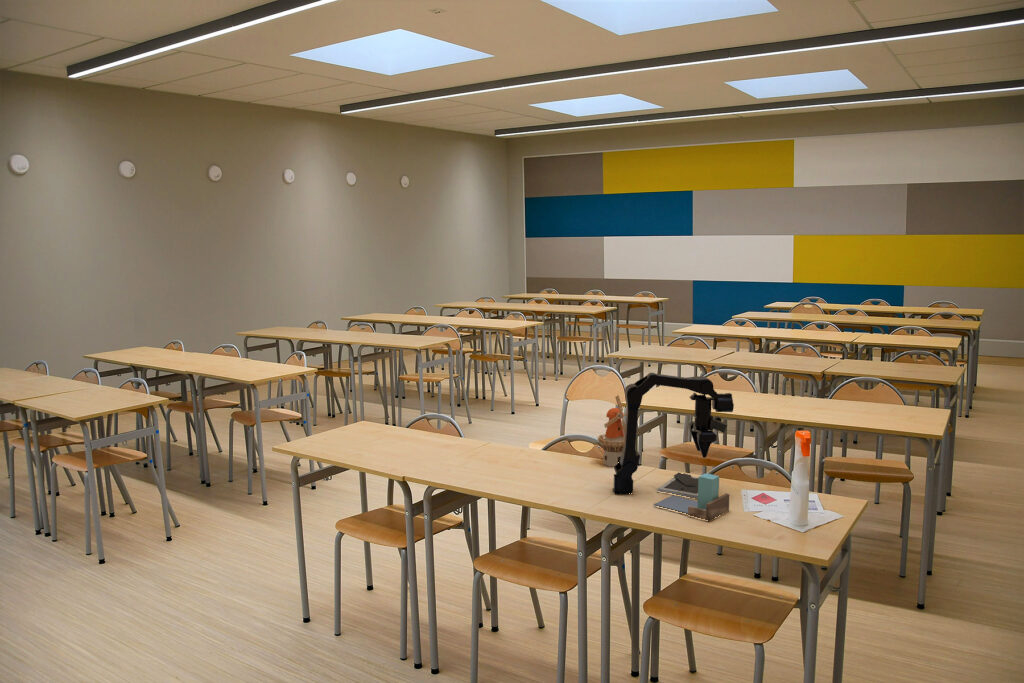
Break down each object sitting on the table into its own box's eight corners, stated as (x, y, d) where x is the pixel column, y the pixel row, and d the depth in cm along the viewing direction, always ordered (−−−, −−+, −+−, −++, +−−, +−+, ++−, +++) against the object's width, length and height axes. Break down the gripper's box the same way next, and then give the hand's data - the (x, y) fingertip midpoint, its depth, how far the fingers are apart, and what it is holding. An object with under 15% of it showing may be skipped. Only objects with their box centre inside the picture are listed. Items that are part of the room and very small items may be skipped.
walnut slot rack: (687, 516, 259) (688, 499, 258) (708, 505, 270) (708, 489, 269) (709, 522, 254) (709, 504, 253) (728, 511, 265) (729, 494, 264)
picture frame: (678, 479, 302) (657, 493, 284) (678, 472, 301) (657, 486, 284) (717, 486, 293) (699, 501, 276) (718, 479, 293) (699, 493, 276)
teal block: (697, 513, 262) (698, 476, 260) (704, 510, 266) (705, 473, 264) (710, 517, 259) (712, 479, 257) (717, 513, 262) (719, 476, 261)
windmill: (615, 473, 308) (617, 398, 304) (585, 466, 317) (586, 394, 313) (638, 463, 321) (640, 392, 317) (608, 457, 330) (610, 388, 326)
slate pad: (653, 507, 268) (653, 504, 268) (672, 497, 278) (672, 495, 278) (687, 515, 260) (687, 512, 260) (705, 506, 270) (705, 503, 269)
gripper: (732, 417, 270) (730, 461, 272) (719, 406, 289) (717, 447, 291) (700, 417, 271) (698, 461, 273) (689, 406, 289) (687, 447, 291)
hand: (701, 454), depth 282 cm, fingers open, 9 cm apart
